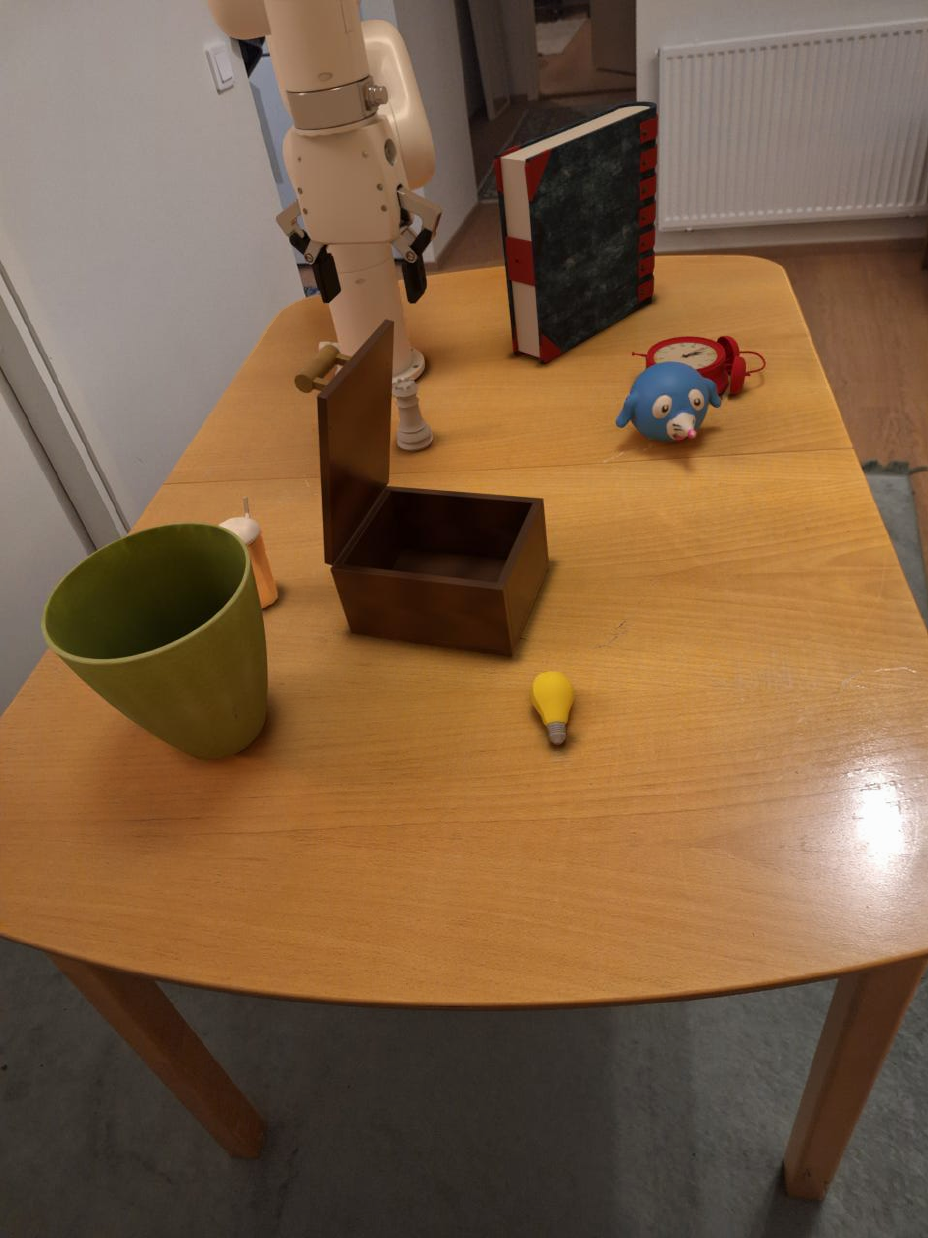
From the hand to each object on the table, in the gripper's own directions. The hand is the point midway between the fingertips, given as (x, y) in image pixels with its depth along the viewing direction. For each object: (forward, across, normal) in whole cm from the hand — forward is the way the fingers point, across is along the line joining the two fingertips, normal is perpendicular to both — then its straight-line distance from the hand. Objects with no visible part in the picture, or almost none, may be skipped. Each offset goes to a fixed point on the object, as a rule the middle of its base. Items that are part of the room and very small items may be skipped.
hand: (374, 297), depth 83 cm
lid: (+3, -8, +23) cm, 25 cm away
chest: (+19, -14, +23) cm, 33 cm away
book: (+19, -14, -36) cm, 43 cm away
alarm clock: (+19, -31, -20) cm, 41 cm away
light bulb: (+19, -27, +35) cm, 48 cm away
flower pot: (+19, 0, +42) cm, 46 cm away
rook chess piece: (+19, 0, -3) cm, 19 cm away
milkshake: (+19, +5, +26) cm, 33 cm away
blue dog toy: (+19, -30, -6) cm, 36 cm away
